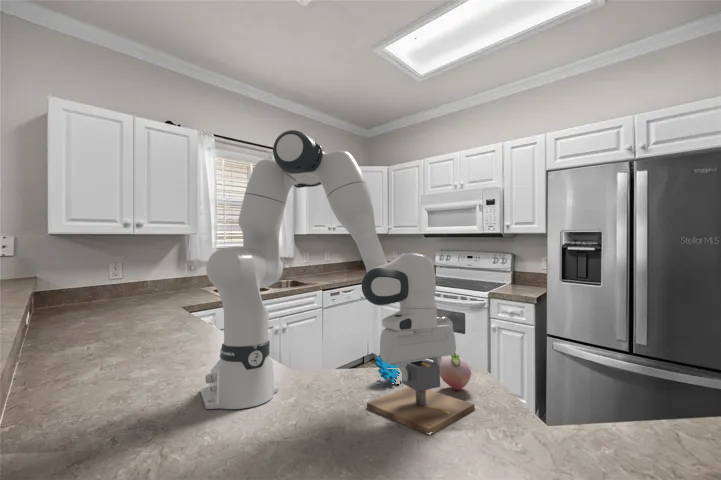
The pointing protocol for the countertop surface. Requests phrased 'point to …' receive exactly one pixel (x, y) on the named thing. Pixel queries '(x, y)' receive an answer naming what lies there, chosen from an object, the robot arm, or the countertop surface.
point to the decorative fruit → (455, 371)
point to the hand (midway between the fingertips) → (420, 377)
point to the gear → (387, 370)
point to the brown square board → (421, 409)
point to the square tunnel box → (423, 375)
